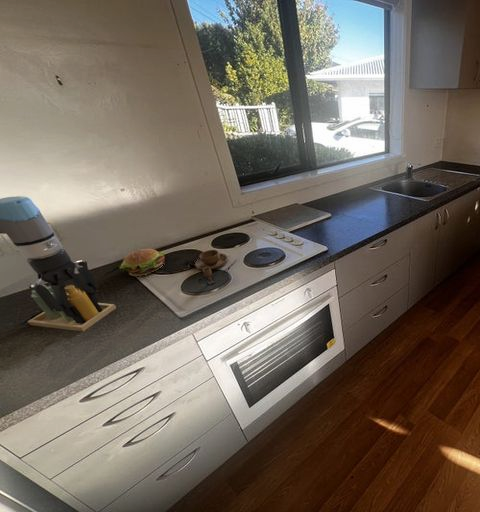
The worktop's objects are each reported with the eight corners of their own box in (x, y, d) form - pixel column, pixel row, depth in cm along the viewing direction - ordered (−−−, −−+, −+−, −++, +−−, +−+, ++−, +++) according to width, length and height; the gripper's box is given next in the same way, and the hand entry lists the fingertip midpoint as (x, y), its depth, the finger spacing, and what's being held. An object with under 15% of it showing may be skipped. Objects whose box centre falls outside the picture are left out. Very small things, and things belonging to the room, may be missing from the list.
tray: (31, 326, 89) (27, 321, 88) (67, 303, 98) (64, 299, 97) (84, 332, 87) (80, 327, 86) (116, 308, 96) (114, 304, 95)
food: (141, 260, 122) (132, 243, 118) (174, 260, 122) (166, 243, 118) (115, 279, 111) (104, 261, 106) (151, 278, 110) (142, 261, 106)
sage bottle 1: (44, 318, 91) (20, 288, 85) (60, 309, 95) (38, 279, 89) (57, 320, 91) (33, 289, 85) (72, 310, 95) (50, 280, 89)
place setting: (240, 257, 124) (237, 245, 121) (214, 284, 107) (209, 271, 104) (201, 256, 125) (197, 244, 122) (169, 283, 108) (163, 270, 105)
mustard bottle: (76, 321, 90) (53, 291, 84) (91, 311, 94) (70, 281, 88) (89, 323, 89) (67, 292, 83) (103, 313, 93) (83, 283, 87)
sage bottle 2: (61, 320, 91) (37, 290, 84) (76, 310, 95) (54, 280, 88) (73, 321, 90) (50, 291, 84) (88, 311, 94) (67, 282, 88)
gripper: (17, 272, 71) (70, 338, 83) (89, 239, 86) (125, 300, 98) (-8, 269, 72) (48, 336, 84) (67, 237, 87) (106, 298, 99)
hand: (89, 316), depth 91 cm, fingers closed on mustard bottle, 5 cm apart
